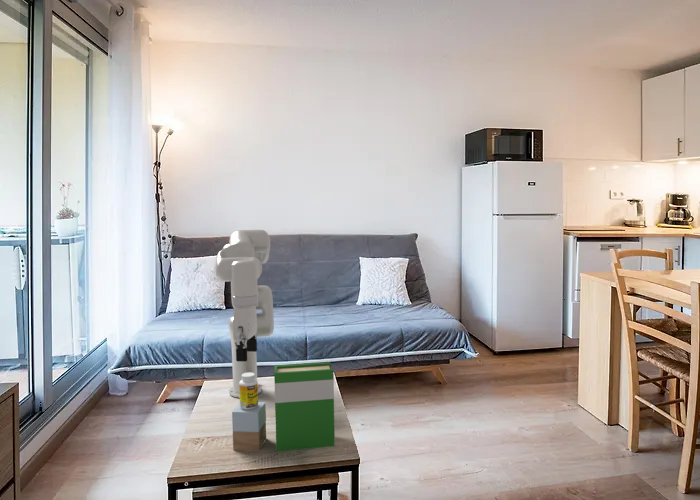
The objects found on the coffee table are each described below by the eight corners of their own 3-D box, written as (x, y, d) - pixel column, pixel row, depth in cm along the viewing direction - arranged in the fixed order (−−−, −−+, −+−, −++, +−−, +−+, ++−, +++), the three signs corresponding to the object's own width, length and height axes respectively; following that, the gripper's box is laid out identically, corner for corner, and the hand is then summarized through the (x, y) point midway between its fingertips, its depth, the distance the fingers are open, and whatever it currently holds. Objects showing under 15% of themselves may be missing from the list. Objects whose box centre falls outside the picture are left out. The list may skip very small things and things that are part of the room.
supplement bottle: (247, 412, 146) (246, 378, 145) (236, 407, 149) (235, 374, 148) (261, 406, 150) (261, 373, 149) (250, 401, 153) (249, 370, 153)
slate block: (241, 419, 154) (240, 401, 154) (265, 420, 153) (265, 402, 153) (232, 431, 146) (232, 411, 146) (258, 432, 145) (257, 412, 145)
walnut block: (241, 438, 155) (241, 419, 154) (266, 438, 154) (265, 420, 153) (233, 450, 147) (232, 431, 146) (259, 451, 146) (258, 432, 145)
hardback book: (331, 435, 156) (330, 362, 154) (334, 446, 148) (333, 369, 146) (276, 440, 153) (274, 365, 151) (276, 451, 145) (274, 373, 144)
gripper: (242, 295, 156) (244, 347, 157) (223, 306, 138) (225, 365, 140) (265, 295, 155) (266, 348, 156) (248, 306, 138) (250, 365, 139)
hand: (247, 356), depth 148 cm, fingers open, 9 cm apart
